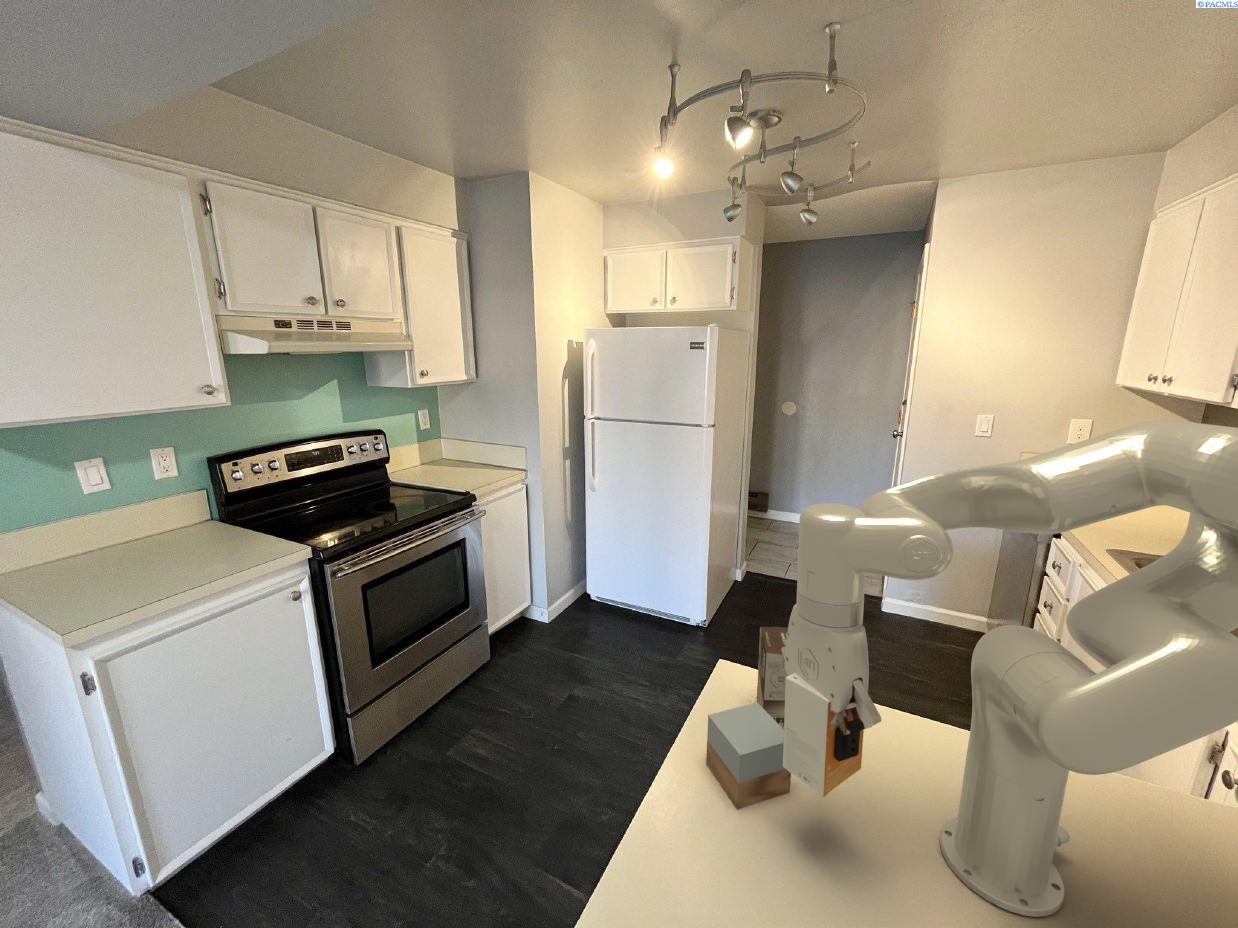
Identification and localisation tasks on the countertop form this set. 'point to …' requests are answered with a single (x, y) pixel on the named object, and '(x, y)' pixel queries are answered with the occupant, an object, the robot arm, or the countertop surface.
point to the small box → (813, 738)
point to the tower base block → (747, 783)
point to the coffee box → (772, 672)
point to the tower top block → (747, 741)
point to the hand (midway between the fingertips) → (823, 734)
